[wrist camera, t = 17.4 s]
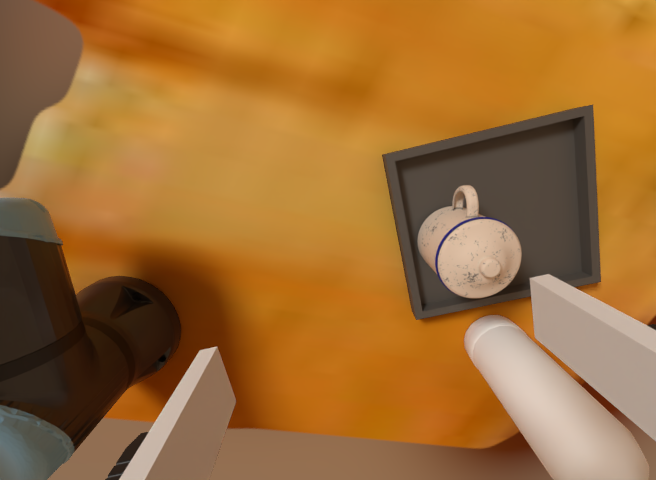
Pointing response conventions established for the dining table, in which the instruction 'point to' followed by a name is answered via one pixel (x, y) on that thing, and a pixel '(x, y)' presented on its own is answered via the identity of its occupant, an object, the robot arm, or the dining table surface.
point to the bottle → (552, 407)
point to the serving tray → (504, 201)
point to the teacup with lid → (469, 248)
